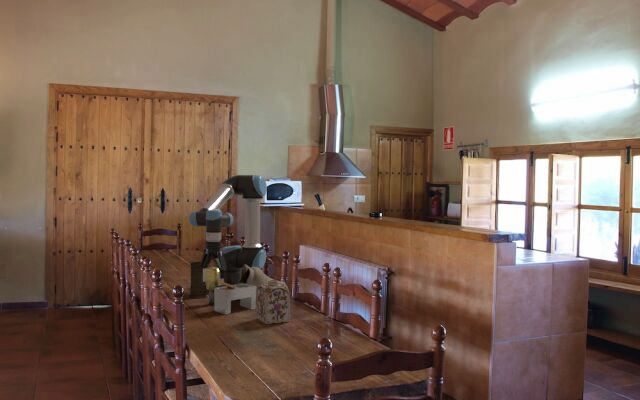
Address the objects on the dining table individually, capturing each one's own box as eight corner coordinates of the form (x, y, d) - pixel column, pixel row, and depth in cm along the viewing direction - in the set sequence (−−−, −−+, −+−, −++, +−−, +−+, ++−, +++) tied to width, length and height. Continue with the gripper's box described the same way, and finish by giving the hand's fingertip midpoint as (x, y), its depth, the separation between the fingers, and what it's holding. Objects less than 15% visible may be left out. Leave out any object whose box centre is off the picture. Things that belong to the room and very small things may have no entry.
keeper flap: (228, 287, 266) (228, 284, 266) (234, 288, 262) (235, 286, 262) (216, 282, 261) (217, 279, 261) (223, 284, 257) (224, 281, 257)
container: (202, 298, 288) (202, 264, 287) (186, 297, 289) (186, 263, 289) (209, 295, 296) (209, 262, 296) (193, 294, 298) (194, 261, 297)
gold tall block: (215, 302, 281) (215, 266, 280) (223, 304, 276) (223, 268, 275) (203, 304, 276) (203, 268, 275) (211, 306, 271) (211, 270, 270)
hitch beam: (244, 305, 276) (245, 283, 275) (256, 308, 269) (256, 285, 269) (214, 310, 263) (214, 287, 262) (225, 314, 256) (225, 290, 256)
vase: (287, 269, 304) (239, 259, 294) (302, 269, 285) (251, 258, 274) (280, 309, 300) (230, 300, 290) (294, 312, 280) (242, 302, 270)
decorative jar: (265, 324, 240) (265, 283, 239) (255, 318, 250) (256, 279, 249) (290, 322, 245) (291, 281, 244) (280, 315, 255) (280, 277, 255)
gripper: (193, 239, 281) (193, 280, 282) (221, 243, 263) (221, 287, 264) (206, 238, 286) (205, 278, 287) (234, 242, 268) (234, 286, 269)
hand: (213, 283), depth 275 cm, fingers open, 13 cm apart
